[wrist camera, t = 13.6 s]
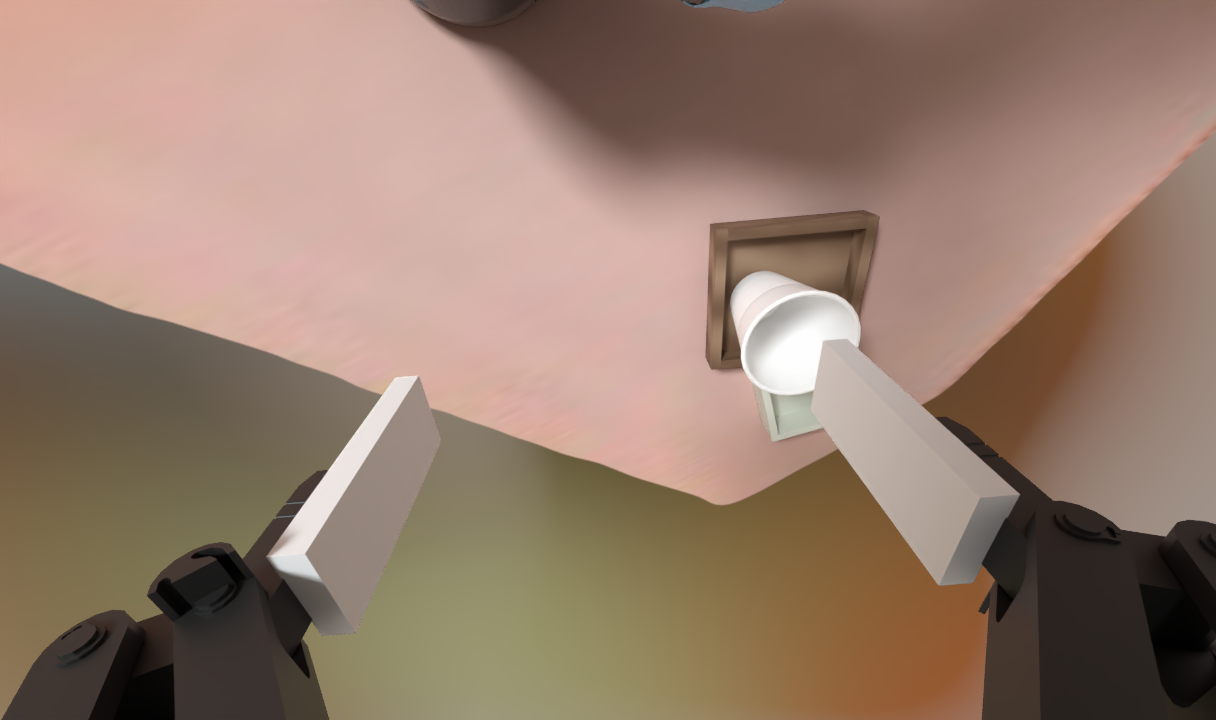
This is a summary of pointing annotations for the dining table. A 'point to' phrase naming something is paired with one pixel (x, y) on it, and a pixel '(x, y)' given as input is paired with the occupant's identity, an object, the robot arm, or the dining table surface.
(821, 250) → the brown square tray
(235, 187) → the dining table surface
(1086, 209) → the dining table surface
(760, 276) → the cup
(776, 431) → the small crate
